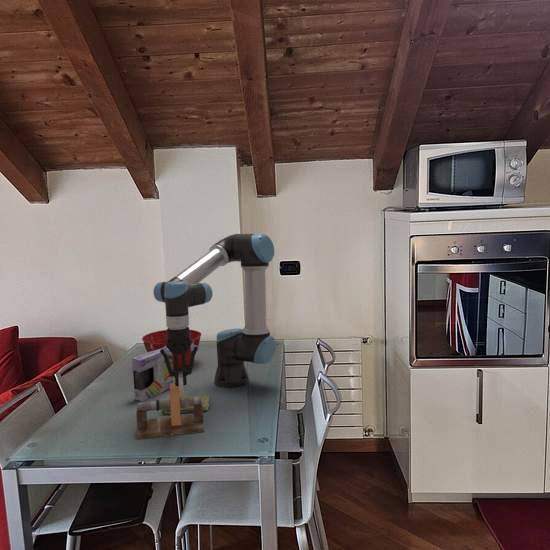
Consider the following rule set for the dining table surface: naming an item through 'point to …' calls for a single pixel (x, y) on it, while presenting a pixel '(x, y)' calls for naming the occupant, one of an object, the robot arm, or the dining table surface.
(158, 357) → the cake pan box
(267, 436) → the dining table surface
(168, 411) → the washcloth
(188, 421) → the rod stand
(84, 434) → the dining table surface
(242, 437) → the dining table surface
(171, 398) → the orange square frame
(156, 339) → the mixing bowl
